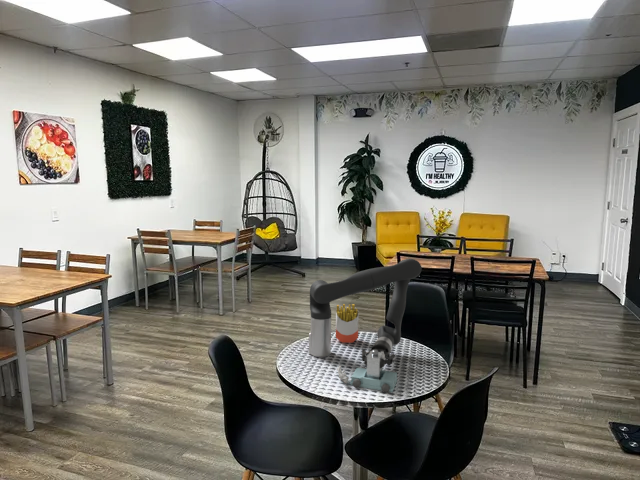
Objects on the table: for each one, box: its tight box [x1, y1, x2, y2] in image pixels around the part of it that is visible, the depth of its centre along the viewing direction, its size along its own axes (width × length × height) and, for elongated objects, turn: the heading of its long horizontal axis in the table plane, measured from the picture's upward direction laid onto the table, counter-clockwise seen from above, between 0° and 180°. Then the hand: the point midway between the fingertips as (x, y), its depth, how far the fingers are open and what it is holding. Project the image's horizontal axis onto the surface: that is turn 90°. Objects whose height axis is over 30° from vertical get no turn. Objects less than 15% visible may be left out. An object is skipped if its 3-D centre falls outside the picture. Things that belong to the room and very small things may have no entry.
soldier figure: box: [336, 365, 351, 384], centre depth 170 cm, size 8×5×12 cm
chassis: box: [350, 366, 398, 394], centre depth 168 cm, size 16×12×4 cm
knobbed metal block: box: [366, 350, 383, 380], centre depth 167 cm, size 5×6×11 cm
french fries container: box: [335, 303, 360, 344], centre depth 211 cm, size 5×11×18 cm, turn 88°
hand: (373, 364), depth 165 cm, fingers closed on knobbed metal block, 5 cm apart
